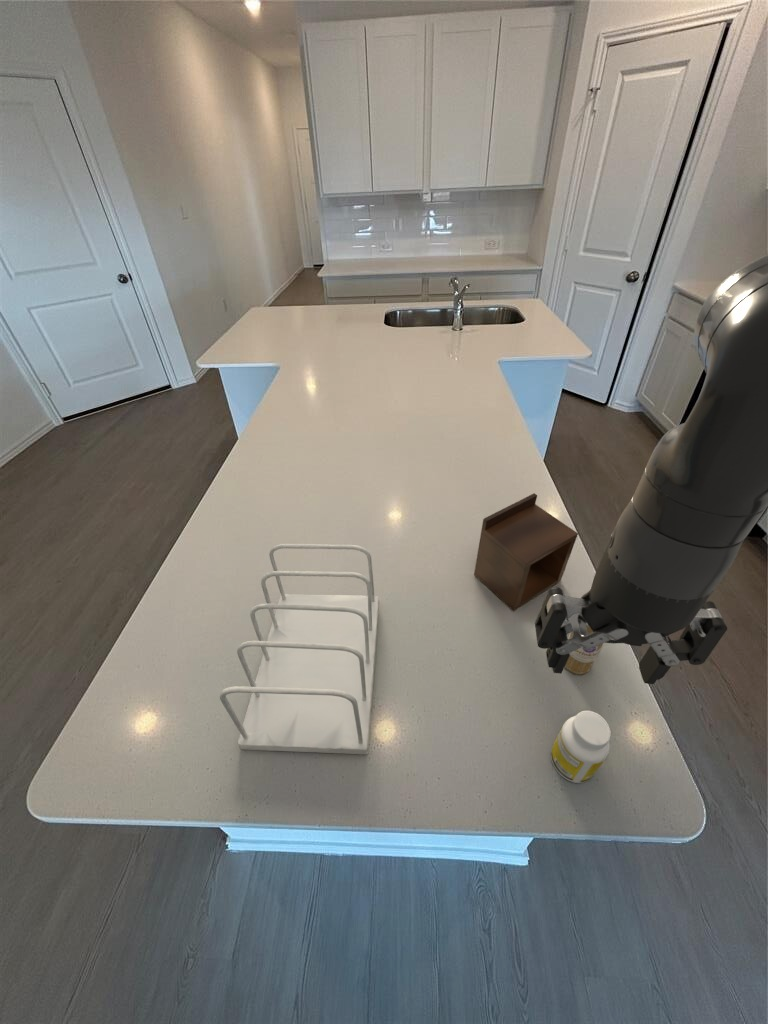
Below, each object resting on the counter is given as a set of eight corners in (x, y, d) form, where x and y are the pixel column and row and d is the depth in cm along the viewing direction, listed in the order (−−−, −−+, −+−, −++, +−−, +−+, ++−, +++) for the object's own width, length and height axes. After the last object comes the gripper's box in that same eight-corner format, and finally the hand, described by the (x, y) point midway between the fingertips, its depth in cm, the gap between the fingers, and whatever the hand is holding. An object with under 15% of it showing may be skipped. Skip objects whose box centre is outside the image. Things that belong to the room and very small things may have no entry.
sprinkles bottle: (565, 676, 66) (591, 622, 57) (555, 649, 69) (578, 595, 61) (596, 674, 66) (626, 621, 57) (584, 648, 69) (611, 593, 61)
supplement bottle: (590, 744, 59) (614, 710, 52) (596, 789, 55) (622, 758, 48) (548, 735, 60) (566, 700, 53) (550, 778, 56) (570, 746, 49)
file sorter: (282, 600, 78) (264, 537, 68) (379, 603, 77) (376, 539, 67) (239, 750, 59) (206, 693, 49) (368, 755, 58) (361, 699, 48)
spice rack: (560, 581, 80) (581, 524, 71) (513, 611, 75) (529, 554, 66) (519, 548, 86) (534, 492, 77) (473, 574, 81) (483, 518, 72)
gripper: (573, 587, 31) (530, 697, 42) (793, 607, 30) (691, 716, 40) (556, 518, 37) (522, 630, 47) (741, 531, 35) (663, 645, 46)
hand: (599, 670), depth 44 cm, fingers open, 8 cm apart
